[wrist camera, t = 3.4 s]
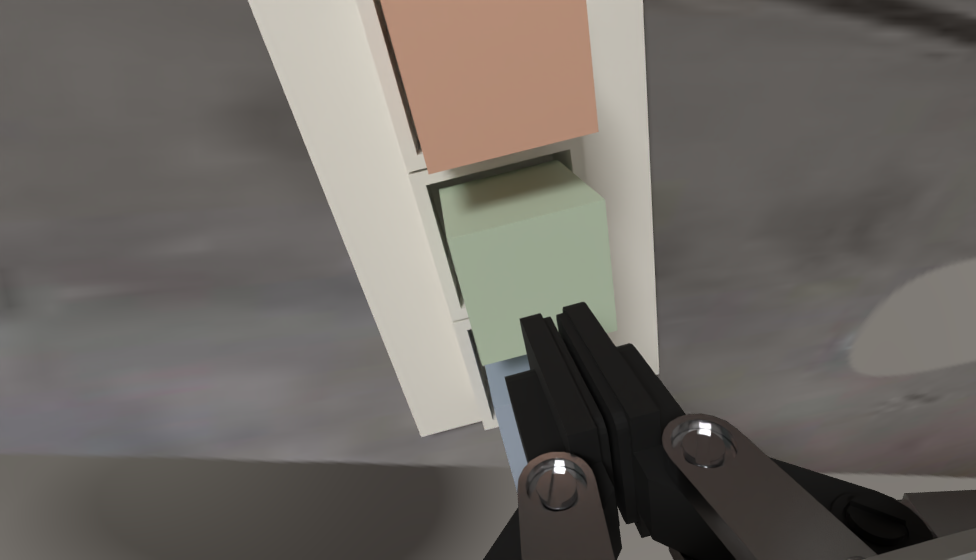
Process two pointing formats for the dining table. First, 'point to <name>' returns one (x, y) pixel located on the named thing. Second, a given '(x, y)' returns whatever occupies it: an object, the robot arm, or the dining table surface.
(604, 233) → the sage button
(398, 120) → the board
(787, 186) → the dining table surface
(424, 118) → the terracotta button
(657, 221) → the dining table surface
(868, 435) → the dining table surface
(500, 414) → the slate button
